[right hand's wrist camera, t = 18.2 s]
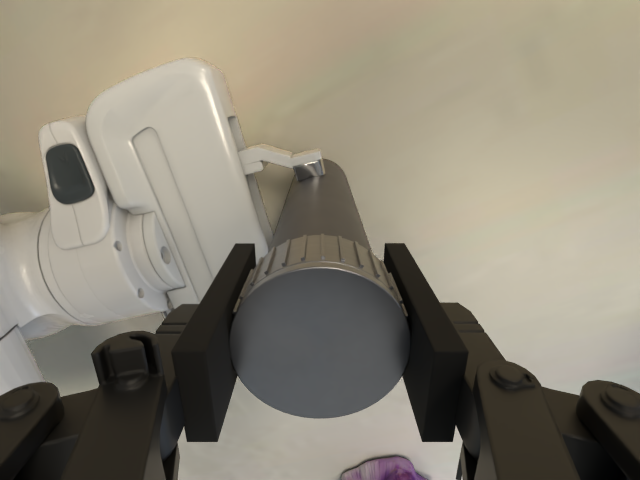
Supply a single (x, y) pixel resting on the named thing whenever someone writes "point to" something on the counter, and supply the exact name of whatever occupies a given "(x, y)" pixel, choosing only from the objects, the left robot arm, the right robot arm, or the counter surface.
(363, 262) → the lid
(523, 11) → the counter surface
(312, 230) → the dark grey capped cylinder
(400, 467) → the figurine
